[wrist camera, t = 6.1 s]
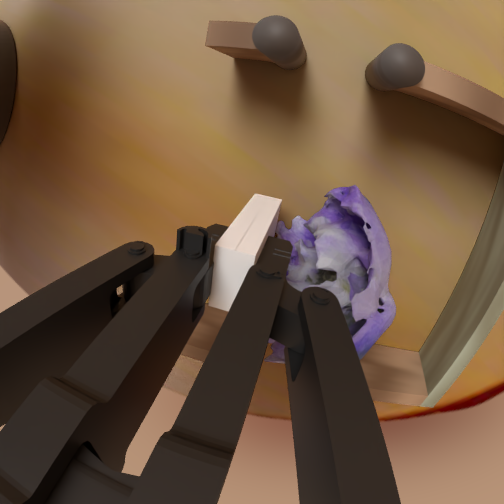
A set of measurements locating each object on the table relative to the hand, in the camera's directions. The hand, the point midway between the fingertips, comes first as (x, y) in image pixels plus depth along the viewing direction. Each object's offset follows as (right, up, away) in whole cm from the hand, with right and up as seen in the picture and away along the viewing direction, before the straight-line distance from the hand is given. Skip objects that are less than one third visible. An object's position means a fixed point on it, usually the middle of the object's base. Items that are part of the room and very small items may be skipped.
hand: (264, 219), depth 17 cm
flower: (+5, -2, +2) cm, 5 cm away
